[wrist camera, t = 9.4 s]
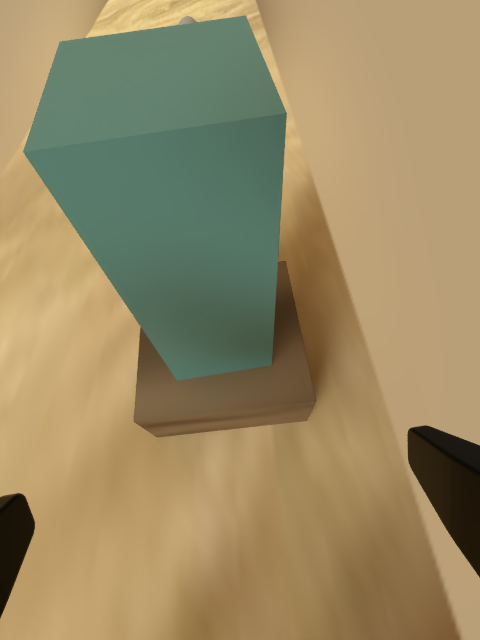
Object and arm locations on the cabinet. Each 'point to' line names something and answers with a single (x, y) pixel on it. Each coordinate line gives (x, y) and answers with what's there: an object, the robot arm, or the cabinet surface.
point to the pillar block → (173, 182)
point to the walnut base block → (229, 384)
